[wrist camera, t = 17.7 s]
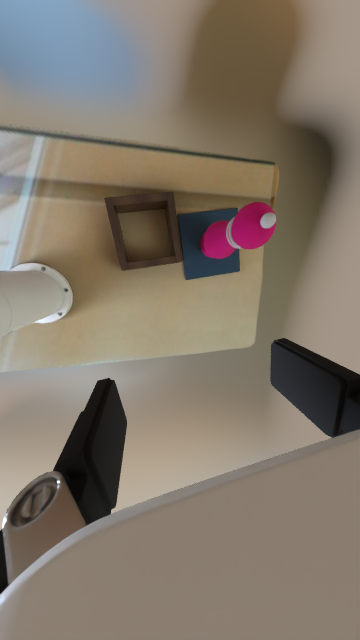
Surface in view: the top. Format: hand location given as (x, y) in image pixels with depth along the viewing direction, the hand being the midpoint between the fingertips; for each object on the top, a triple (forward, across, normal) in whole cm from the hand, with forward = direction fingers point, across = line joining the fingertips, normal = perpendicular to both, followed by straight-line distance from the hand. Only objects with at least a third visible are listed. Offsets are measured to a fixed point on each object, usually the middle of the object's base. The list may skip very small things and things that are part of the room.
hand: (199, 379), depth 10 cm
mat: (+33, -14, -10) cm, 37 cm away
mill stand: (+33, 0, -14) cm, 36 cm away
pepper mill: (+33, -14, -10) cm, 37 cm away
